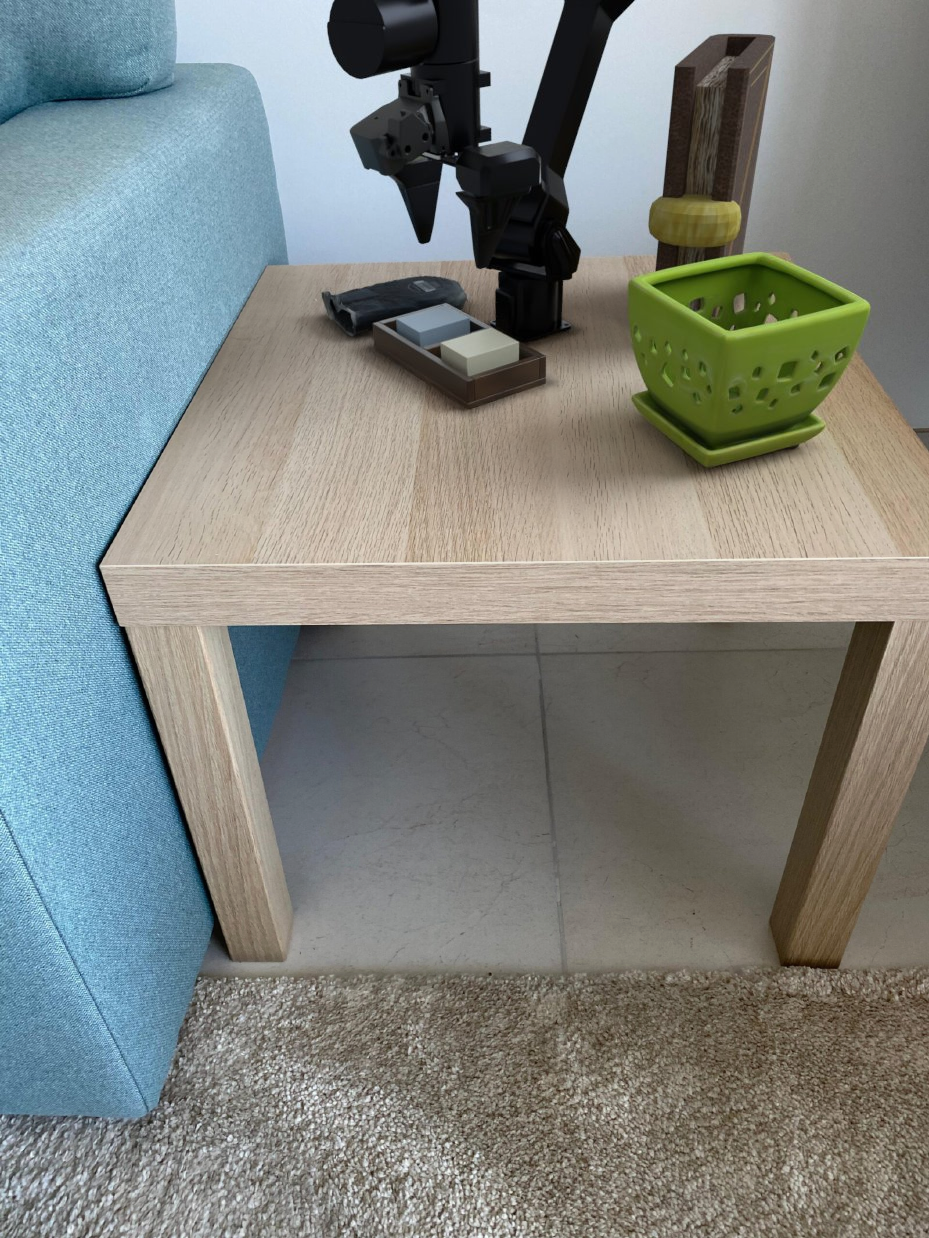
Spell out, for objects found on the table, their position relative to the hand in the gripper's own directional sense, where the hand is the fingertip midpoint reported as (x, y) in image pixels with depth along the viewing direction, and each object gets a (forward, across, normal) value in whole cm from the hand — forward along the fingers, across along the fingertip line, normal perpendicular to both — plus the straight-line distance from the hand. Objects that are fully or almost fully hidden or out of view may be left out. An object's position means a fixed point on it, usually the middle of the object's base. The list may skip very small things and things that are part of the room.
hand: (452, 255), depth 86 cm
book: (+11, +6, +27) cm, 30 cm away
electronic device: (+11, -16, +4) cm, 20 cm away
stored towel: (+11, -5, +1) cm, 12 cm away
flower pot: (+11, +25, +10) cm, 30 cm away
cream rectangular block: (+10, +3, 0) cm, 11 cm away
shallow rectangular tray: (+11, -1, +1) cm, 11 cm away
